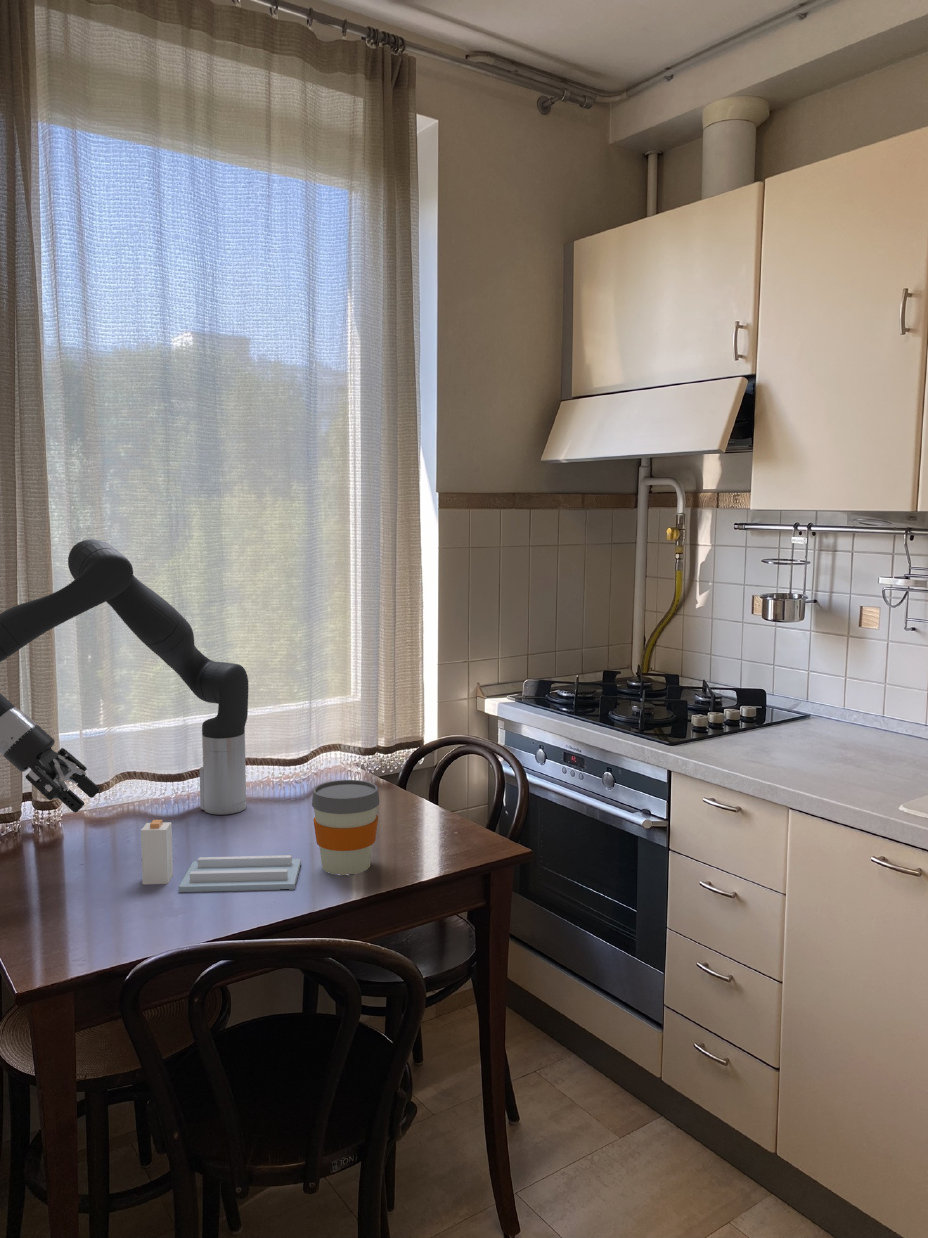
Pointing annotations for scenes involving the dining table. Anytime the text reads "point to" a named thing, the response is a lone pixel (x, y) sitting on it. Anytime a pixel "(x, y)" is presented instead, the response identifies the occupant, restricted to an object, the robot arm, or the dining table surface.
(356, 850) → the reusable coffee cup
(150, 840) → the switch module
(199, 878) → the mounting board
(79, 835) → the dining table surface
